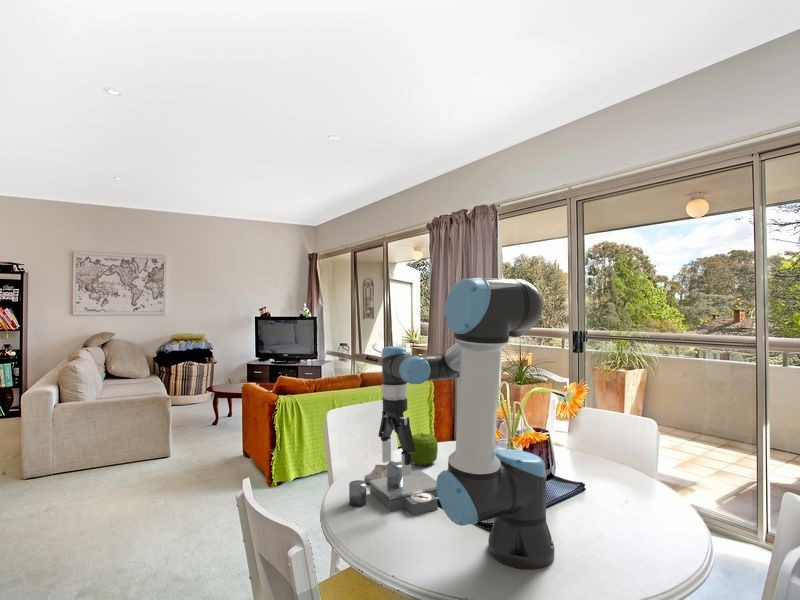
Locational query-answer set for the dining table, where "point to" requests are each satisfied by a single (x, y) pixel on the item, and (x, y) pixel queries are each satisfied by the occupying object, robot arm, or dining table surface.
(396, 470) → the cylinder
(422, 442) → the apple
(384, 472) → the stone
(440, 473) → the robot arm
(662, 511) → the dining table surface
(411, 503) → the scale
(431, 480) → the platform
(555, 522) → the dining table surface
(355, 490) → the cylinder
